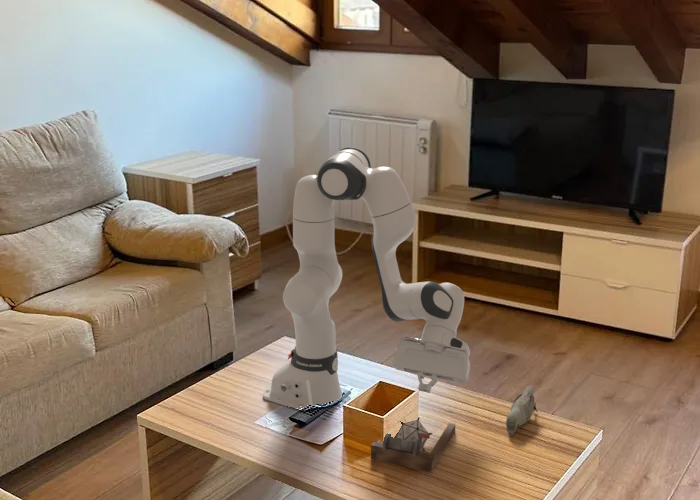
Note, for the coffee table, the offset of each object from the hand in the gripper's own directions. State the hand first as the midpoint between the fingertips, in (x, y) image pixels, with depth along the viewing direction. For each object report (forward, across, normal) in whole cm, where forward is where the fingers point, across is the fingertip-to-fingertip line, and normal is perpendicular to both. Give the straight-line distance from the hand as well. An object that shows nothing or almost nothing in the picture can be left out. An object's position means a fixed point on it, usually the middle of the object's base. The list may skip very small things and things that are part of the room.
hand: (423, 391), depth 217 cm
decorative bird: (-1, +23, +15) cm, 28 cm away
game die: (+16, +1, -1) cm, 16 cm away
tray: (+14, +1, +1) cm, 14 cm away
